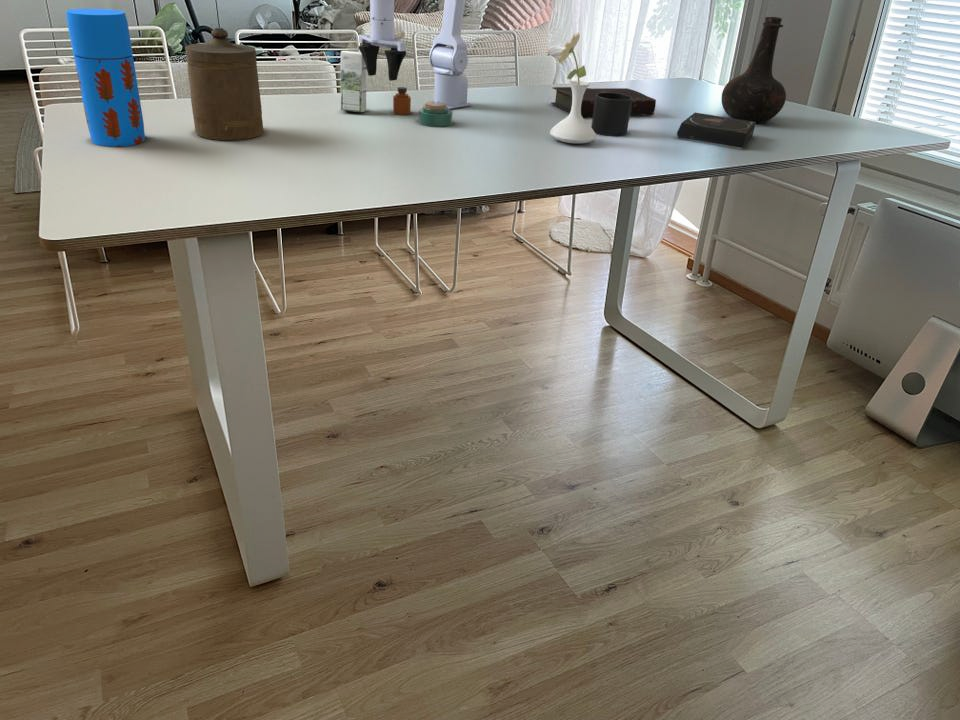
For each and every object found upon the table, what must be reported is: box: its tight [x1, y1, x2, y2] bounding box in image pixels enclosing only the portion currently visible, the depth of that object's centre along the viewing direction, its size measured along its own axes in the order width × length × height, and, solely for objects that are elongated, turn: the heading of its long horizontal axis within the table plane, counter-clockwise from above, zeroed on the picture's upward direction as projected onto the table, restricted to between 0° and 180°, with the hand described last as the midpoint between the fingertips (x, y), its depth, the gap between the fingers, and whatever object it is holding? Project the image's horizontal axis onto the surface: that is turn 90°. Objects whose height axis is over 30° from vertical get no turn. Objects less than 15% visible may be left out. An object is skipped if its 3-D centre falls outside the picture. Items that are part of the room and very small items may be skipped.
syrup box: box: [340, 50, 368, 113], centre depth 192 cm, size 6×6×14 cm
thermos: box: [65, 8, 146, 148], centre depth 152 cm, size 11×11×25 cm
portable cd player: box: [676, 112, 757, 151], centre depth 196 cm, size 16×17×4 cm
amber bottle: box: [392, 86, 412, 116], centre depth 197 cm, size 5×5×6 cm
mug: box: [590, 93, 632, 137], centre depth 193 cm, size 9×12×9 cm
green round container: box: [418, 100, 454, 128], centre depth 190 cm, size 9×9×5 cm
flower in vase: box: [549, 32, 597, 144], centre depth 177 cm, size 13×11×25 cm
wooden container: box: [185, 27, 264, 141], centre depth 164 cm, size 15×15×22 cm
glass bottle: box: [721, 16, 787, 124], centre depth 213 cm, size 18×18×28 cm
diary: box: [550, 86, 657, 117], centre depth 217 cm, size 19×25×5 cm
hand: (382, 77), depth 188 cm, fingers open, 7 cm apart
